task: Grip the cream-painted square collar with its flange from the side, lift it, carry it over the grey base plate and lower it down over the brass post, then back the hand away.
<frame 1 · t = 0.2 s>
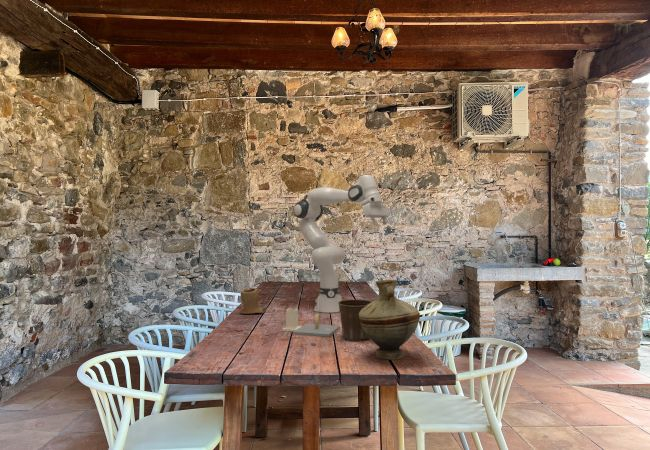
hand: (380, 224, 238), 52 cm above the table, tool tilted 20°, fingers open, 8 cm apart
plant pot: (355, 338, 197), on the table
brown ceramic vase: (389, 356, 168), on the table
post plate: (317, 331, 210), on the table
collar: (292, 329, 214), on the table
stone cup: (252, 314, 255), on the table
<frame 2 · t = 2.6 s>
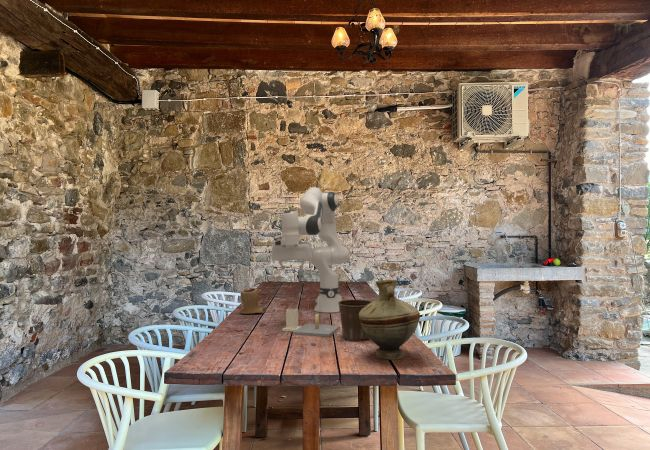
hand: (292, 269, 216), 30 cm above the table, tool pointing down, fingers open, 8 cm apart
nothing on the table moved.
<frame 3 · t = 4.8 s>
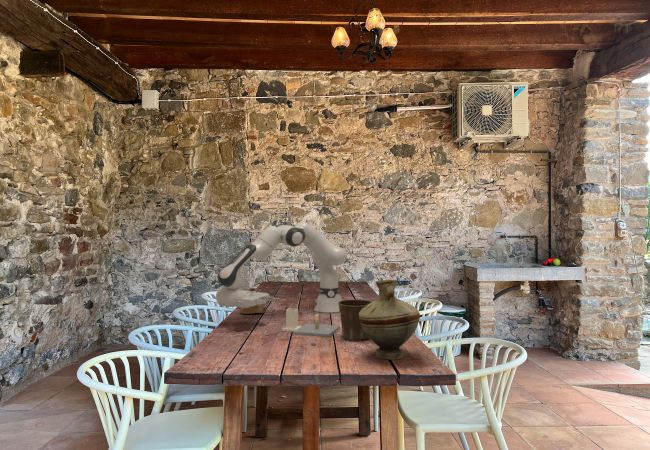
hand: (269, 300, 218), 14 cm above the table, tool horizontal, fingers open, 8 cm apart
nothing on the table moved.
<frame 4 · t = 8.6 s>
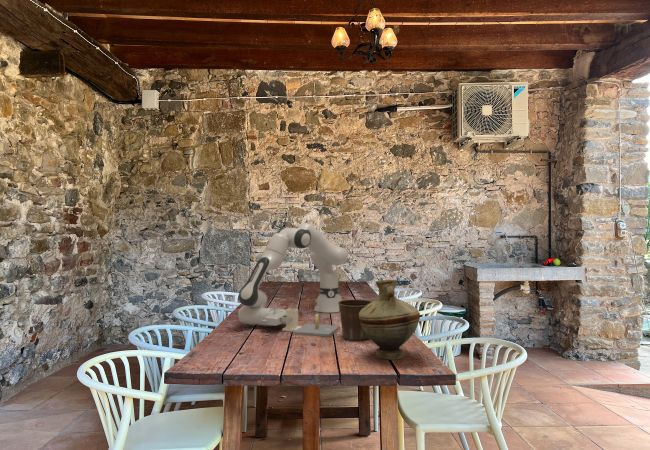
hand: (293, 318, 214), 6 cm above the table, tool horizontal, fingers closed on collar, 5 cm apart
collar: (292, 329, 214), on the table, touching gripper
everything else where it was.
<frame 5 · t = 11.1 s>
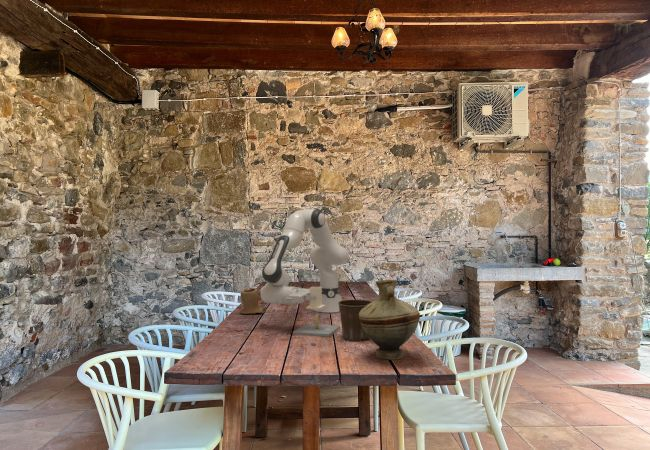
hand: (317, 296, 210), 17 cm above the table, tool horizontal, fingers closed on collar, 5 cm apart
collar: (315, 307, 210), point 11 cm above the table, touching gripper
everything else where it was.
when the fingers open (8 cm above the table, at t = 13.8 s): collar drops 1 cm, resting on post plate.
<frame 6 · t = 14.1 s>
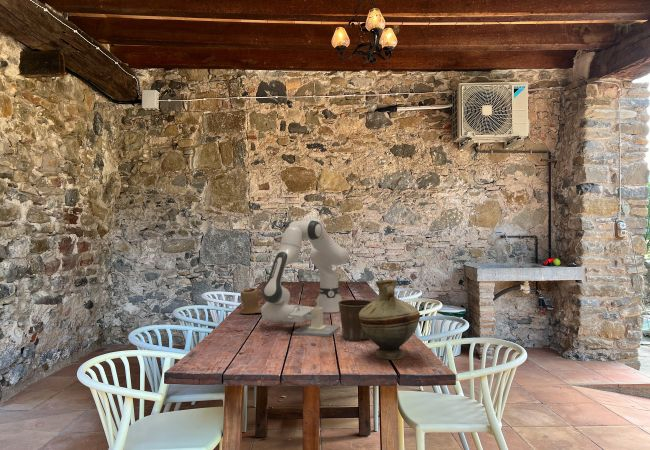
hand: (318, 315, 210), 8 cm above the table, tool horizontal, fingers open, 8 cm apart
collar: (317, 328, 210), point 1 cm above the table, touching post plate
everything else where it was.
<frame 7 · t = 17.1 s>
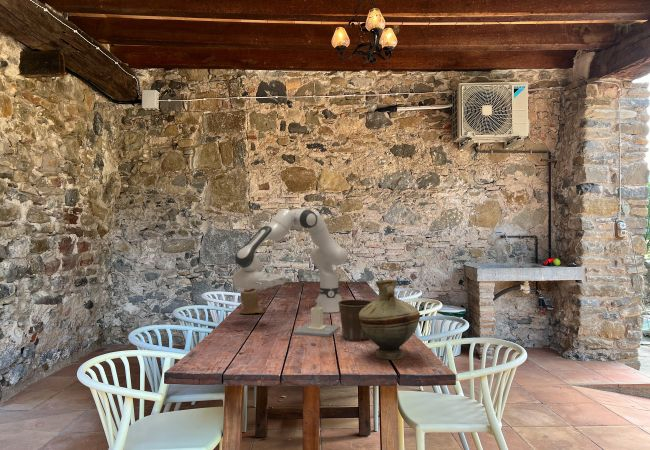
hand: (287, 281, 215), 24 cm above the table, tool horizontal, fingers open, 8 cm apart
nothing on the table moved.
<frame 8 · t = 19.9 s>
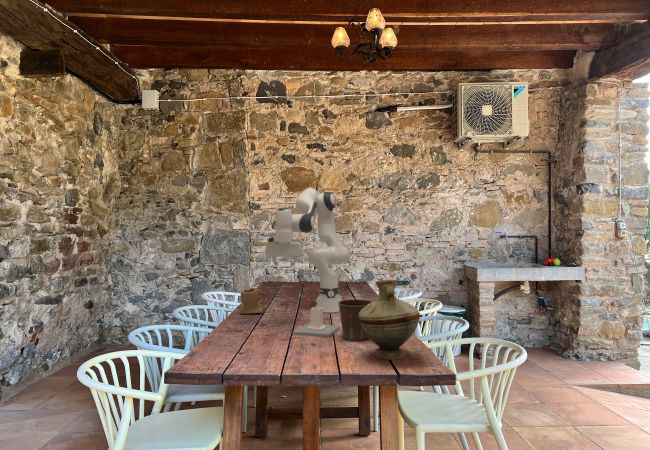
hand: (284, 265, 222), 31 cm above the table, tool pointing down, fingers open, 8 cm apart
nothing on the table moved.
at the end: collar 0.1 cm off-centre on the post plate, point 1.2 cm above the post plate's base; collar tilted 0°; the gripper is holding nothing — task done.
